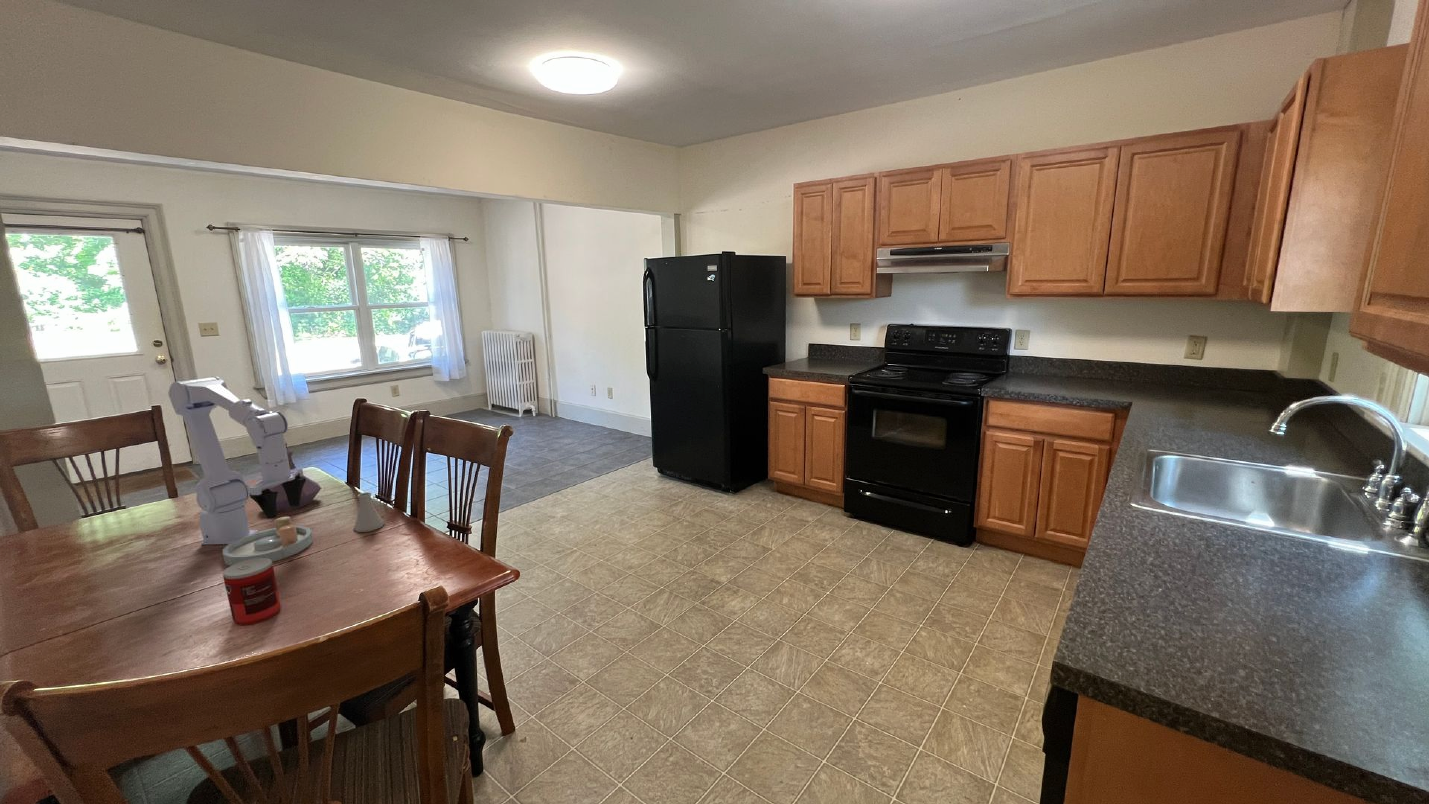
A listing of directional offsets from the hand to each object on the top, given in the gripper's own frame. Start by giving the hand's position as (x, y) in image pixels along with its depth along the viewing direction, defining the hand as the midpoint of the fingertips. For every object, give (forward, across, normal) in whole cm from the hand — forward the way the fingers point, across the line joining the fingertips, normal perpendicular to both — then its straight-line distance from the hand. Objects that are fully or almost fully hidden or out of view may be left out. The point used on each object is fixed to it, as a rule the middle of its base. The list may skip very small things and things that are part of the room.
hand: (283, 511), depth 143 cm
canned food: (+11, -30, -16) cm, 36 cm away
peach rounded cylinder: (+9, 0, 0) cm, 9 cm away
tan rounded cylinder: (+9, +6, +6) cm, 12 cm away
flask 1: (+11, +31, +24) cm, 40 cm away
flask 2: (+11, +13, -12) cm, 21 cm away
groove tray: (+10, 0, +6) cm, 12 cm away
